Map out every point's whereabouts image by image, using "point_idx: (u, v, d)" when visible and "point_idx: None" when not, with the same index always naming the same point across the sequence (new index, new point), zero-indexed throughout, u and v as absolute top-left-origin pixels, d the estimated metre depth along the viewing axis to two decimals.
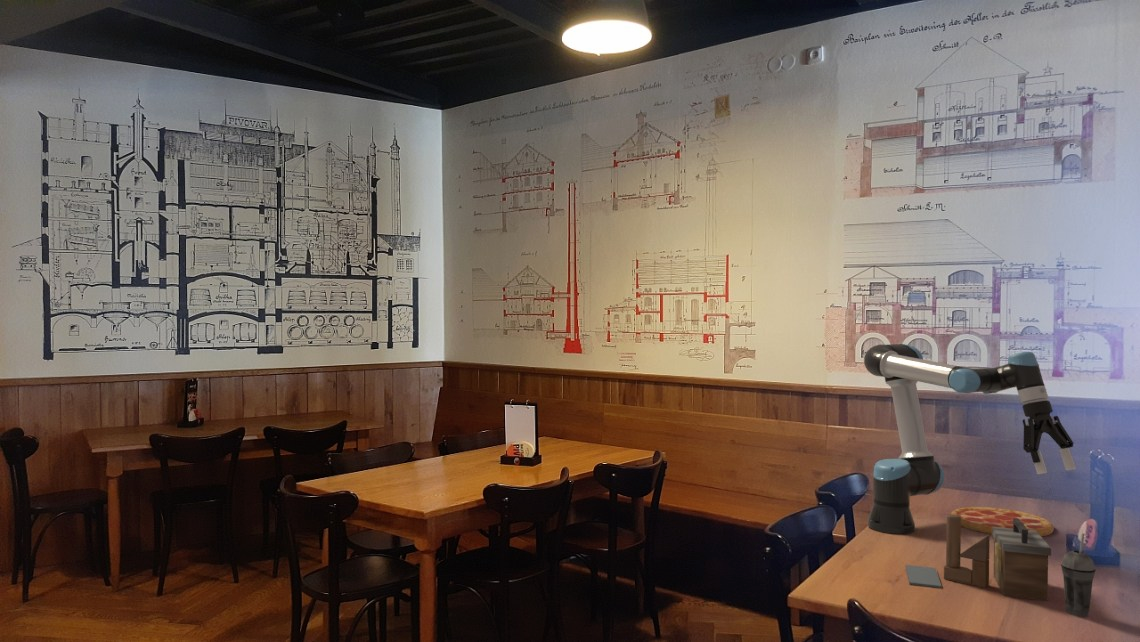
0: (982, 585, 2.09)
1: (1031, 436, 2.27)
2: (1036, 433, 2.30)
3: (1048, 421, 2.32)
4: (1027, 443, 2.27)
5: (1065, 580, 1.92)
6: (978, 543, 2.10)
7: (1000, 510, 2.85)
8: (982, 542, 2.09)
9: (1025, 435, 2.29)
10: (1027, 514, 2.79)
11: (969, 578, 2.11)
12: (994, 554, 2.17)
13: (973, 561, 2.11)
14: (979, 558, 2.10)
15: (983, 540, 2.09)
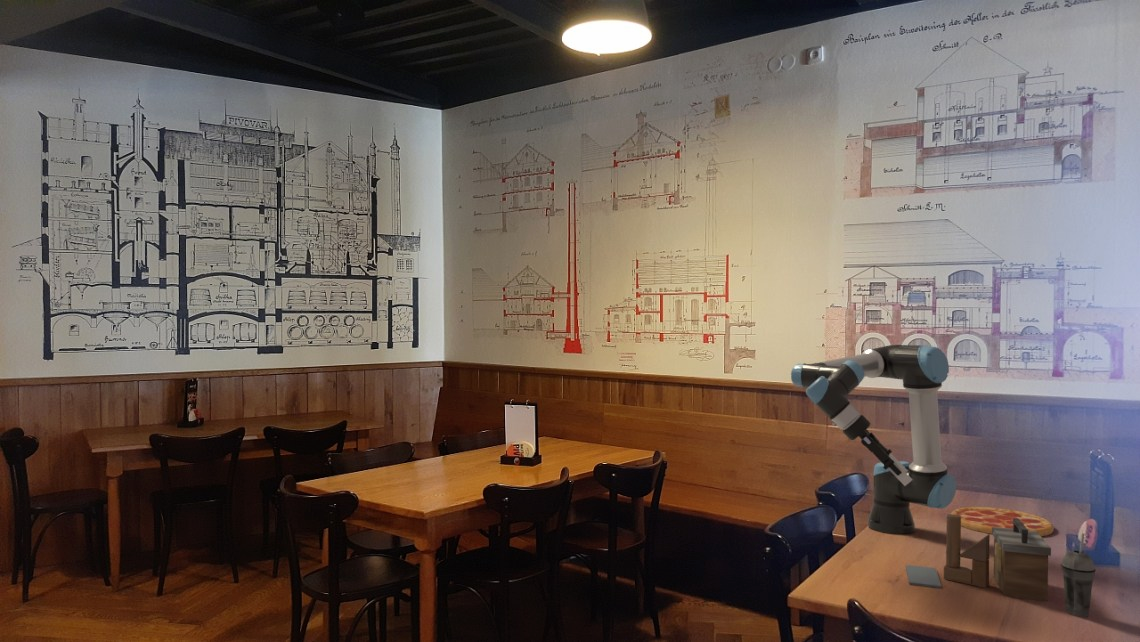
0: (982, 585, 2.09)
1: None
2: None
3: None
4: None
5: (1065, 580, 1.92)
6: (978, 543, 2.10)
7: (1000, 510, 2.85)
8: (982, 542, 2.09)
9: None
10: (1027, 514, 2.79)
11: (969, 578, 2.11)
12: (994, 554, 2.17)
13: (973, 561, 2.11)
14: (979, 558, 2.10)
15: (983, 540, 2.09)
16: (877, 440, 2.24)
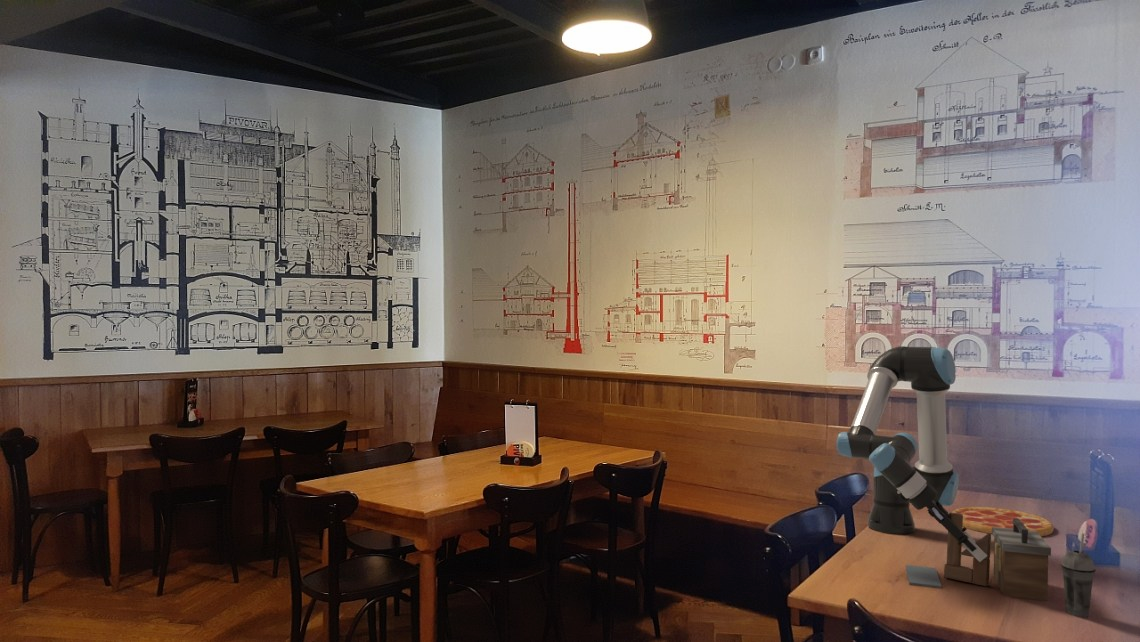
0: (982, 583, 2.09)
1: None
2: None
3: None
4: None
5: (1065, 580, 1.92)
6: (980, 540, 2.11)
7: (1000, 510, 2.85)
8: (984, 539, 2.10)
9: None
10: (1027, 514, 2.79)
11: (969, 576, 2.12)
12: (994, 554, 2.17)
13: (974, 559, 2.11)
14: None
15: (985, 537, 2.10)
16: (945, 511, 2.16)
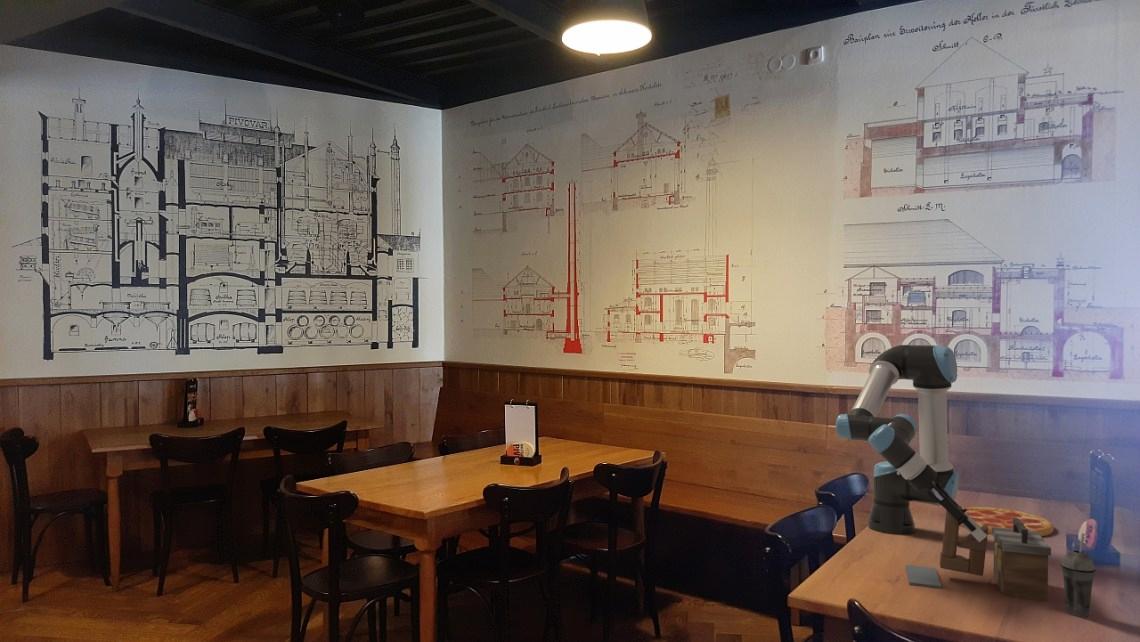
0: (979, 574, 2.12)
1: None
2: None
3: None
4: None
5: (1065, 580, 1.92)
6: None
7: (1000, 510, 2.85)
8: None
9: None
10: (1027, 514, 2.79)
11: (966, 567, 2.14)
12: (994, 554, 2.17)
13: (972, 551, 2.13)
14: (979, 548, 2.12)
15: (984, 531, 2.11)
16: (945, 492, 2.16)
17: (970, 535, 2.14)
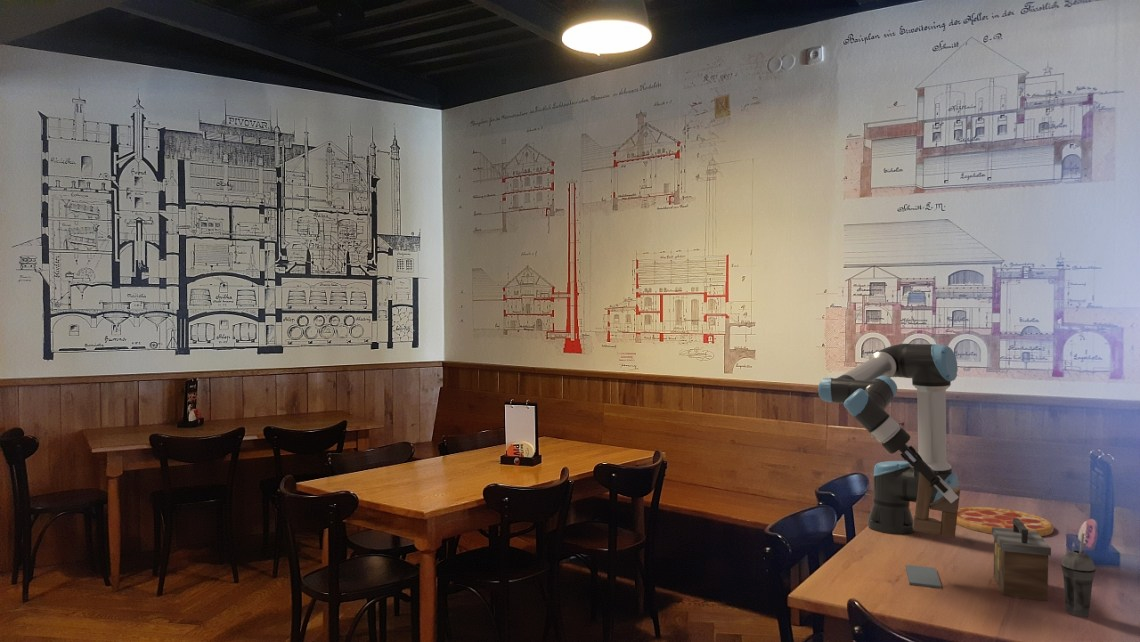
0: (951, 535, 2.15)
1: None
2: None
3: None
4: None
5: (1065, 580, 1.92)
6: None
7: (1000, 510, 2.85)
8: None
9: None
10: (1027, 514, 2.79)
11: (939, 529, 2.16)
12: (994, 554, 2.17)
13: (944, 513, 2.15)
14: (951, 510, 2.15)
15: (956, 493, 2.14)
16: (918, 455, 2.19)
17: (942, 497, 2.17)
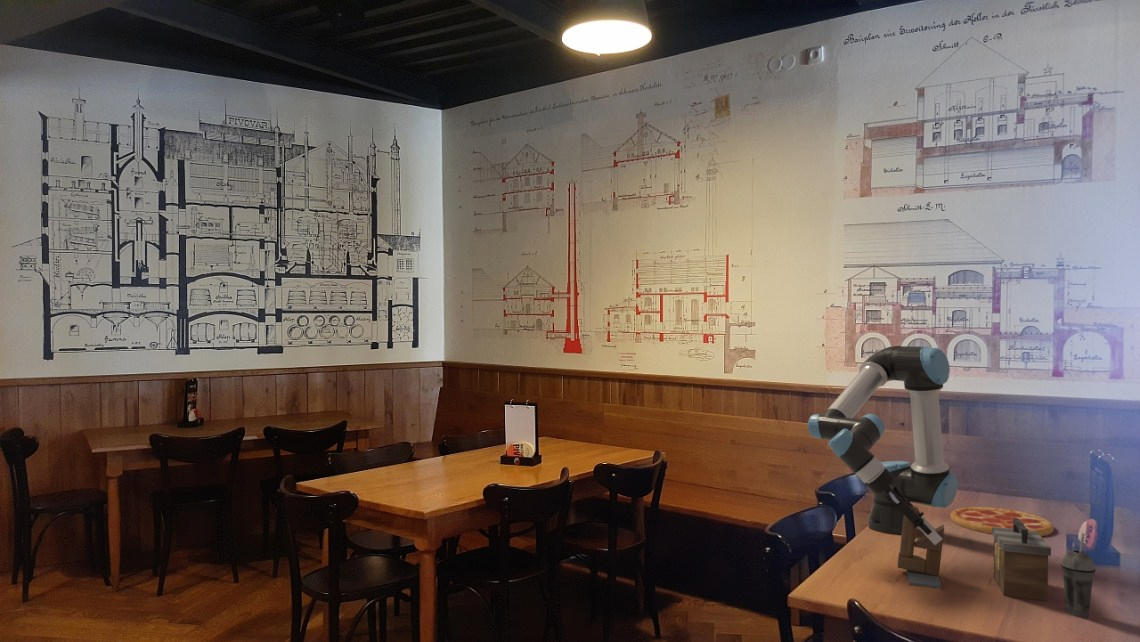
0: (935, 573, 2.16)
1: None
2: None
3: None
4: None
5: (1065, 580, 1.92)
6: None
7: (1000, 510, 2.85)
8: (939, 533, 2.15)
9: None
10: (1027, 514, 2.79)
11: (923, 567, 2.17)
12: (994, 554, 2.17)
13: (928, 551, 2.17)
14: (935, 548, 2.16)
15: (940, 531, 2.15)
16: (903, 496, 2.20)
17: None
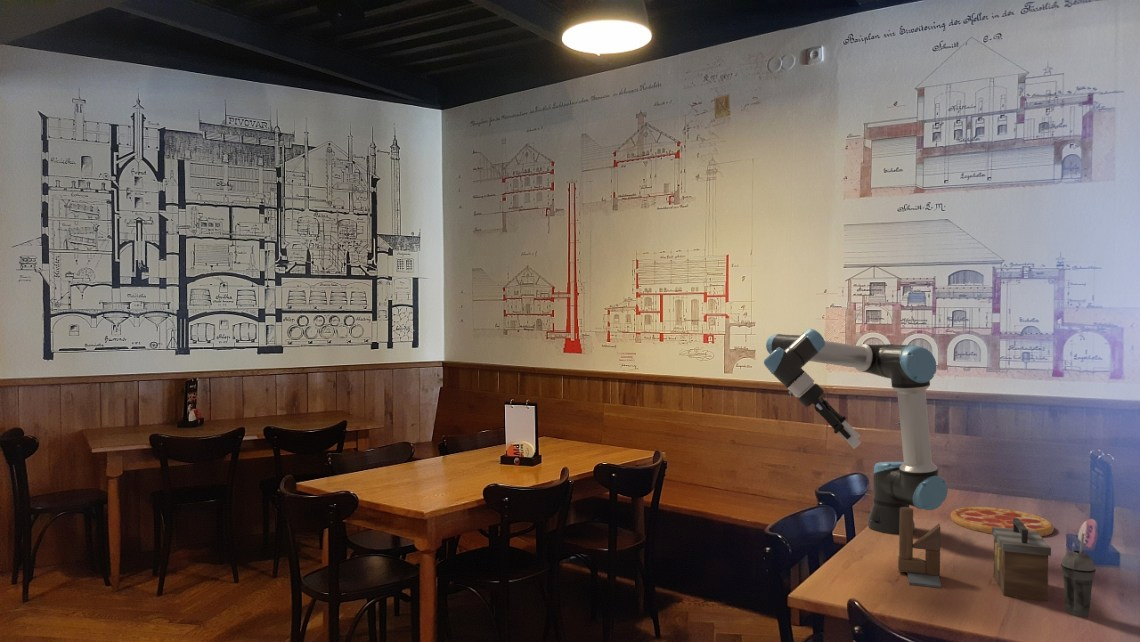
0: (936, 574, 2.16)
1: None
2: None
3: None
4: None
5: (1065, 580, 1.92)
6: (932, 533, 2.17)
7: (1000, 510, 2.85)
8: (936, 532, 2.16)
9: None
10: (1027, 514, 2.79)
11: (923, 568, 2.17)
12: (994, 554, 2.17)
13: (927, 551, 2.17)
14: (933, 548, 2.17)
15: (937, 530, 2.16)
16: (831, 407, 2.36)
17: (924, 536, 2.19)
